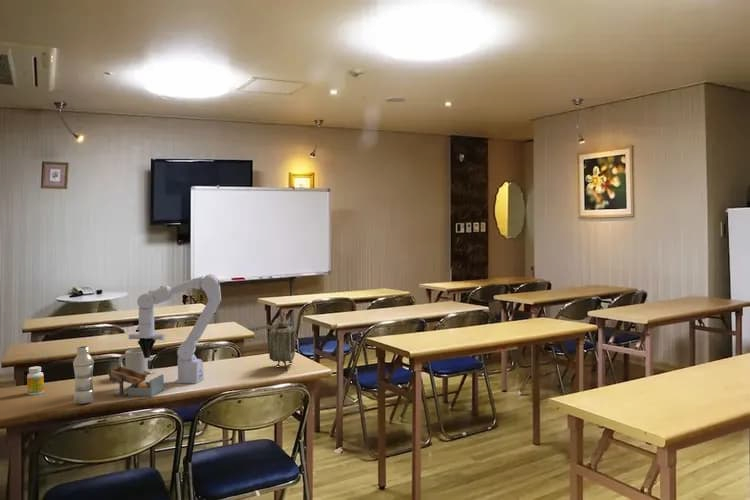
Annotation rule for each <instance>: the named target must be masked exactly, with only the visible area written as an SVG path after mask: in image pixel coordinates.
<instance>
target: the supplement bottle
mask: <svg viewBox="0 0 750 500" xmlns="http://www.w3.org/2000/svg"><path fill="white" fill-rule="evenodd" d="M41 371H42V367H41V366H38V365H37V366H31V367H28V372H29V373H27V375H26V383H27V384H26V385H27V386H26V387H27V388H26V390H27V395H29V396H30V395H31V396H35V395H40V394H43V393H44V392H45V381H44V380H45V378H44V372H41Z"/></svg>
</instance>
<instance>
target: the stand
mask: <svg viewBox="0 0 750 500" xmlns="http://www.w3.org/2000/svg"><path fill="white" fill-rule="evenodd" d="M117 383H119V391H117V392H115V393H113V397H125V398H126V397H129V396H128V387H129V386H128V387H125V388H124V381H123V378H119V379H118V380H117ZM131 385H133V384H131Z"/></svg>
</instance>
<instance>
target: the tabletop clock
mask: <svg viewBox="0 0 750 500" xmlns="http://www.w3.org/2000/svg"><path fill="white" fill-rule="evenodd" d="M295 330H296V329H295V326H289V323H288V322H287V321H285V311H284V310H281V312H280V321H279V322H277V324H276V326H274V328H272V329H271V330H270V331H269V333H268V352H269V353H268V354H269V356H268V357H269V360H271V361H273V362H277V364H276V366H280V367H281V365H280V363H281V362H282V363H283V364H284V366H285V367H284V370H285V369H288V370H289V367H288V366H287V362H288V364H289V363H292V364H293V359H294V358H295V355H296V337H295V336H296V331H295ZM276 366H275V367H276Z"/></svg>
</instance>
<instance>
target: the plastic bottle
mask: <svg viewBox="0 0 750 500" xmlns="http://www.w3.org/2000/svg"><path fill="white" fill-rule="evenodd" d="M89 347H90V346H87V345H85V346H84V345H83V346H77V347H76V353H77V355H76V356H75V357H74V359H73V361H72V364H73V365H72V366H73V371H74V378H75V379H74V380H75V383H74V392H73V401H74V402H75V404H79V405H80V404H82V405H84V404H85V405H86V404H89V403H93V402H94V399H95V395H96V394H95V393H96V392H95V389H94V383H93V382H94V381H93V372H94V363H95V360H94V358H93V357H92V355H91V354H90V350H89Z"/></svg>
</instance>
